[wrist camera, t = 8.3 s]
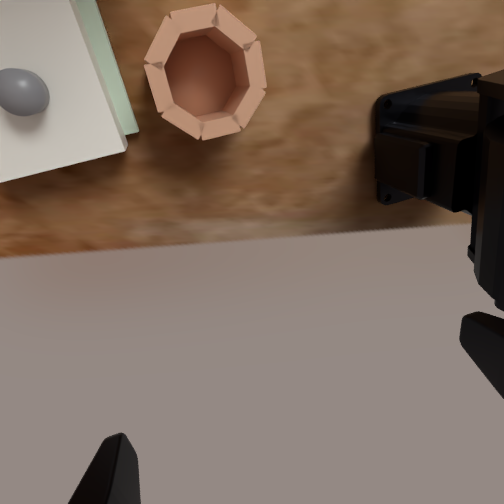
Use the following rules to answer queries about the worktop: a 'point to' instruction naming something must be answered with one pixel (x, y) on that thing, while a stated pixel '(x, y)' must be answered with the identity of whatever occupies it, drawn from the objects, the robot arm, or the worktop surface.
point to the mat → (107, 64)
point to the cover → (51, 91)
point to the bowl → (205, 71)
